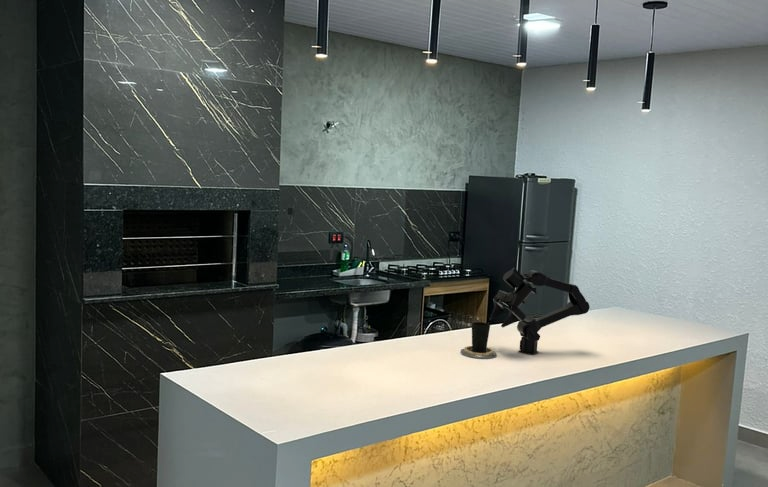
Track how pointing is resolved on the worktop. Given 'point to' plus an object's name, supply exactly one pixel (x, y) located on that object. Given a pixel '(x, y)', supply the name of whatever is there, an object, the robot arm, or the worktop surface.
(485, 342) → the cup
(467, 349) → the flange plate
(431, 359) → the worktop surface
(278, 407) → the worktop surface
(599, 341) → the worktop surface
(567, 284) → the robot arm
